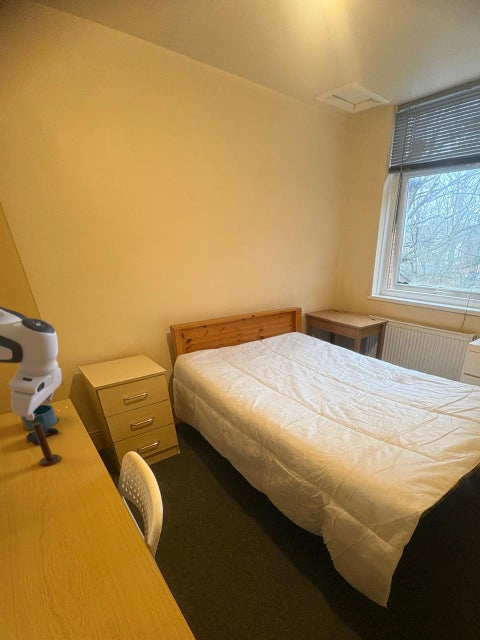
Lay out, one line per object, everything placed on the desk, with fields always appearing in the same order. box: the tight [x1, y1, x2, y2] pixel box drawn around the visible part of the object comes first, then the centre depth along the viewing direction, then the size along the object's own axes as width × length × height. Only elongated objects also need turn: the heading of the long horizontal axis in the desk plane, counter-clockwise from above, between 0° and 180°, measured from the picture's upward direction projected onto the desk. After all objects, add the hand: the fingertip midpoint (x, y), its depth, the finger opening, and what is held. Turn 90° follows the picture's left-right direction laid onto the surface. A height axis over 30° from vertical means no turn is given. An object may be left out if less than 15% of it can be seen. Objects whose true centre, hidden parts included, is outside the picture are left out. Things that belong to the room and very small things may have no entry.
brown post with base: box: [32, 422, 60, 467], centre depth 107 cm, size 5×5×15 cm
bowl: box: [19, 403, 58, 431], centre depth 130 cm, size 11×11×6 cm
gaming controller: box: [26, 426, 59, 446], centre depth 122 cm, size 10×5×6 cm
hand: (39, 410), depth 101 cm, fingers open, 8 cm apart
